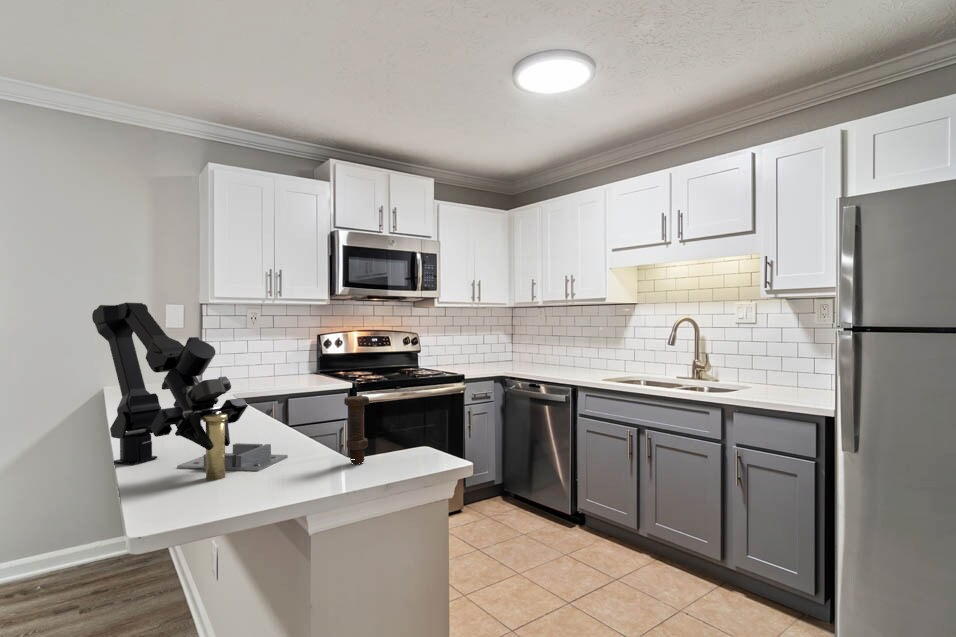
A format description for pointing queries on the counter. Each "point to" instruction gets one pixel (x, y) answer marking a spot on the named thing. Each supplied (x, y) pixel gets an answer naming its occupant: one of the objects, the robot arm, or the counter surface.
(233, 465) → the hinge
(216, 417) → the pin
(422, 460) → the counter surface
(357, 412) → the bolt
